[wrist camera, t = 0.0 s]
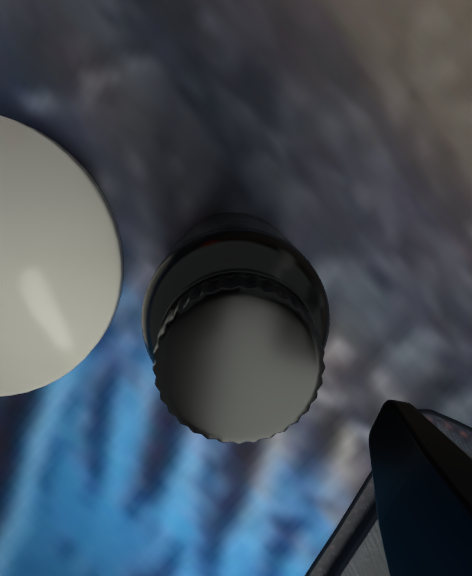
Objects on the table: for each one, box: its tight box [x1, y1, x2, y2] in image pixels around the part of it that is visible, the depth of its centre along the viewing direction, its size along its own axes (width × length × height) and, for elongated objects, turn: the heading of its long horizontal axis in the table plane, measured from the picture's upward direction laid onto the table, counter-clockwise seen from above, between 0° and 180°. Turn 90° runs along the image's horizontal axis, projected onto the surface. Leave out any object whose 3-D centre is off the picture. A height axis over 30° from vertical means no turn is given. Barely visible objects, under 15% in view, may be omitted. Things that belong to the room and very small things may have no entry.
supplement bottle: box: [142, 212, 330, 444], centre depth 17 cm, size 7×7×12 cm
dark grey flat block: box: [305, 410, 472, 576], centre depth 28 cm, size 20×2×15 cm
